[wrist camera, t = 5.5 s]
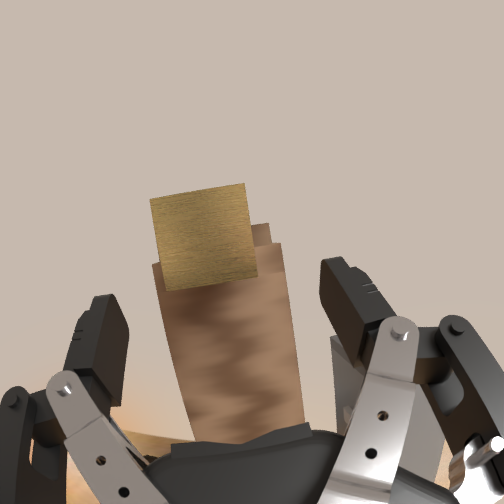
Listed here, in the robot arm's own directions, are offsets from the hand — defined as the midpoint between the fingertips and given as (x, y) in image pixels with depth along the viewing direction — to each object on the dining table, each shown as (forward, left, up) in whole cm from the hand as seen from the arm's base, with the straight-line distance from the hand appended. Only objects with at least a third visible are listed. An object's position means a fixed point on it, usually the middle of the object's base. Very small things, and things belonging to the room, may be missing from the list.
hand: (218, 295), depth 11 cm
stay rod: (0, +12, +2) cm, 12 cm away
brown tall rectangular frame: (0, +16, -31) cm, 34 cm away
